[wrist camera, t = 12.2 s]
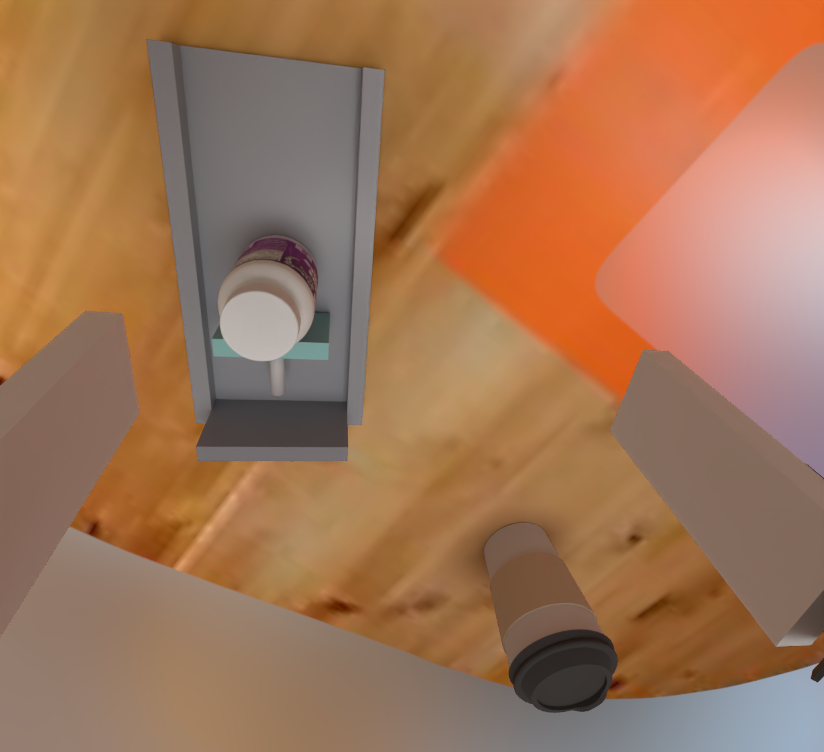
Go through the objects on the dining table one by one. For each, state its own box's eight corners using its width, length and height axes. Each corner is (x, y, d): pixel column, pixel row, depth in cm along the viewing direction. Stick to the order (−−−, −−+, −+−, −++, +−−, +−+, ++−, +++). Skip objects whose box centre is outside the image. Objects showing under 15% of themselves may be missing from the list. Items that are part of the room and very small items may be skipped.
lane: (161, 44, 28) (111, 28, 22) (381, 71, 30) (392, 64, 24) (204, 404, 39) (179, 460, 33) (360, 407, 41) (364, 461, 35)
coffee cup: (455, 551, 51) (495, 704, 38) (523, 500, 49) (590, 646, 36) (508, 586, 55) (560, 736, 42) (573, 541, 53) (649, 685, 40)
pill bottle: (329, 298, 35) (326, 360, 27) (257, 317, 35) (231, 385, 27) (304, 222, 32) (291, 265, 24) (226, 244, 32) (186, 294, 24)
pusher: (228, 308, 34) (211, 338, 30) (330, 313, 35) (328, 343, 31) (233, 373, 37) (218, 410, 32) (328, 376, 38) (327, 412, 33)
